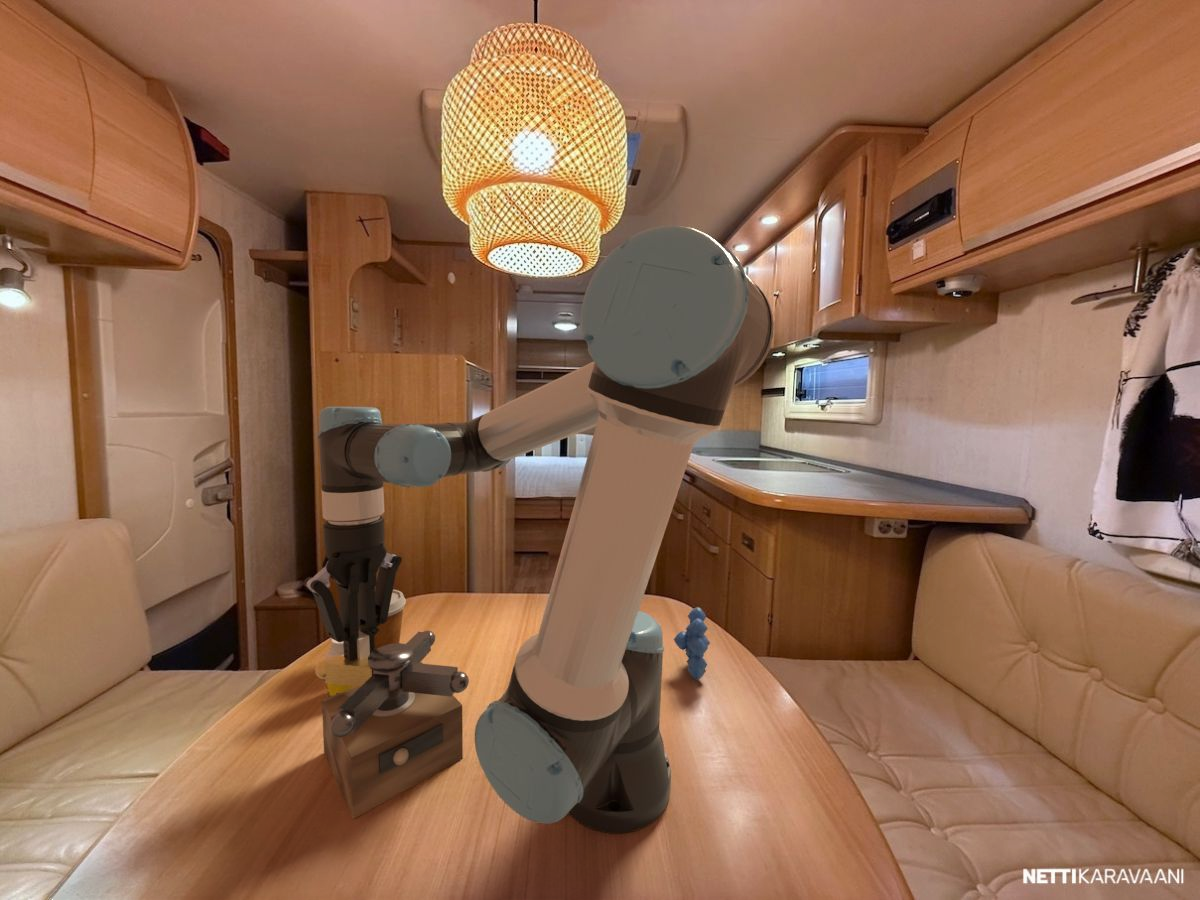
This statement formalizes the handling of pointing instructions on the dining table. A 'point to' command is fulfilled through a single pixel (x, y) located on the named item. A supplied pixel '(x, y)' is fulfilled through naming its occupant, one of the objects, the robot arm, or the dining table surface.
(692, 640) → the grapes
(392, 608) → the disposable coffee cup
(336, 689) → the supplement bottle
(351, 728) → the capstan
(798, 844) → the dining table surface
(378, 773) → the stand
